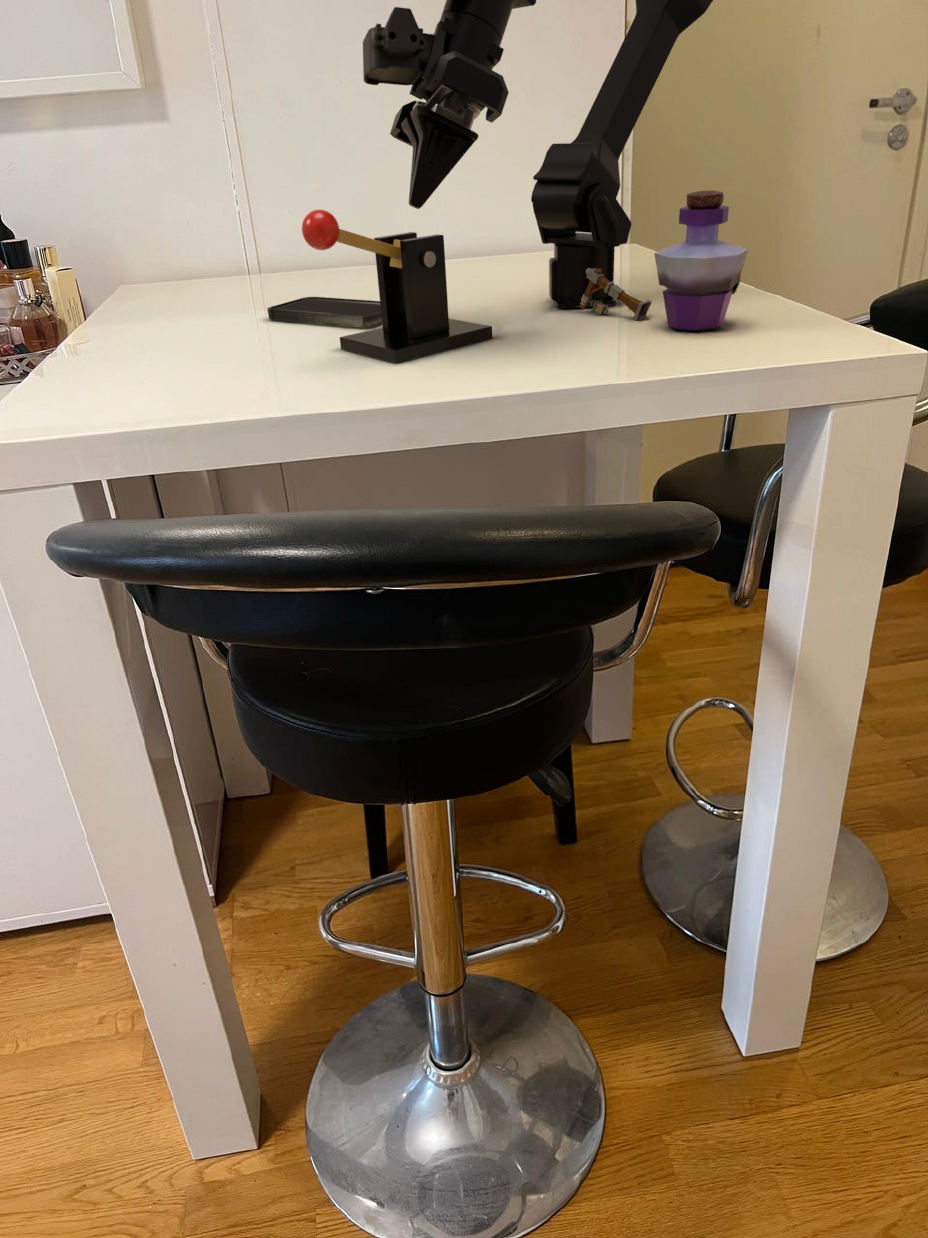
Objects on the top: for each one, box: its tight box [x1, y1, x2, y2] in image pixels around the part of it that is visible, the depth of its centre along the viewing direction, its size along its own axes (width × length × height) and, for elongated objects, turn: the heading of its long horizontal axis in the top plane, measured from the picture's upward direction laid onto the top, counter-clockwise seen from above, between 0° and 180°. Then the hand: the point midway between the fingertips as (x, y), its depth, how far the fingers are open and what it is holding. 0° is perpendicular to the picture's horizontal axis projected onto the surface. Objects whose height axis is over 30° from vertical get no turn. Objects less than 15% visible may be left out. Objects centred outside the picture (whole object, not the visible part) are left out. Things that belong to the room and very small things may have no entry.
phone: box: [266, 296, 382, 328], centre depth 100 cm, size 8×1×15 cm
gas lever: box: [301, 209, 402, 270], centre depth 79 cm, size 13×3×3 cm, turn 131°
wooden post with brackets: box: [578, 268, 653, 321], centre depth 93 cm, size 2×8×4 cm, turn 48°
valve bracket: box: [339, 231, 494, 364], centre depth 85 cm, size 12×9×10 cm
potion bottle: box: [654, 189, 749, 334], centre depth 84 cm, size 9×9×12 cm
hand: (414, 206), depth 82 cm, fingers closed
